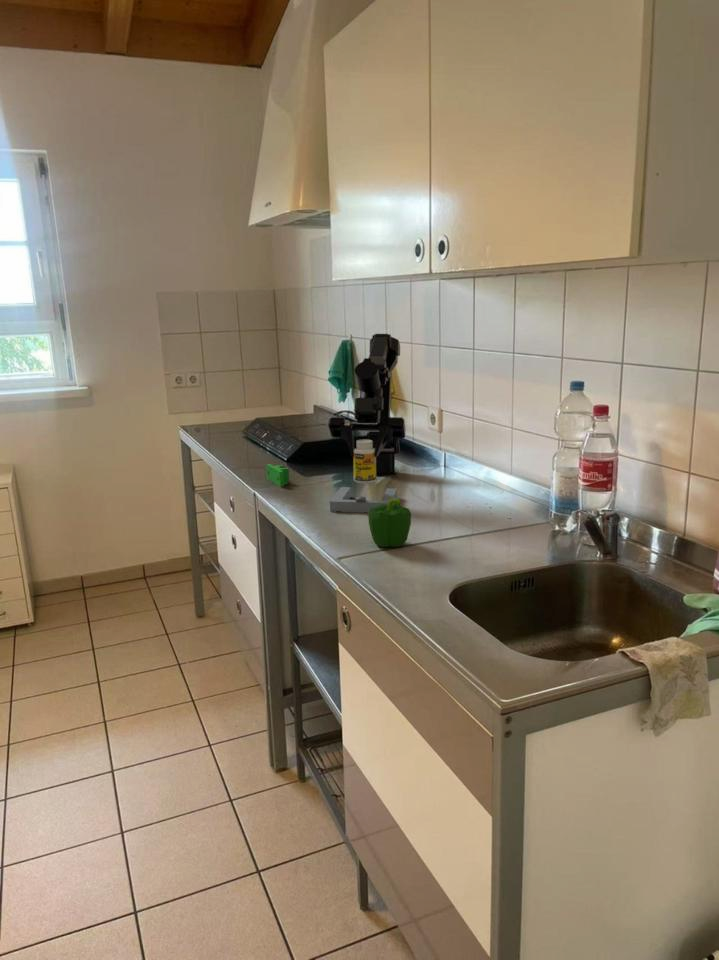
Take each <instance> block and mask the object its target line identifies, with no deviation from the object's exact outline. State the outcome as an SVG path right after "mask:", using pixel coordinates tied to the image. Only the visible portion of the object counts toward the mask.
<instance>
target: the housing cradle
mask: <svg viewBox="0 0 719 960" xmlns="http://www.w3.org/2000/svg"><path fill="white" fill-rule="evenodd" d="M351 490H352V489H351V487H350V486H349V487H347V486H343V487H340V488H339V489H338V490H337V491H336V493H335V494H334V495H333V497H332V498H331V499H330V500H329V511H335V512H336V511H342V512H341V513H364V512H370V509H372V508H376V506H378V505H380V504H385V505H388V503H389V501H390V500H392V499H398V488H396V487H395V488H388V487H387V489H386V490H385V492H384V494H383V496H382V498H381V500H371V499H370V500H369V499H367V497H365V496H357V497H355V499H350V498H351V496H352V494H351V492H352V491H351ZM394 504H396V503H393V505H394ZM335 512H334V513H335ZM336 513H337V512H336Z"/></svg>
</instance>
